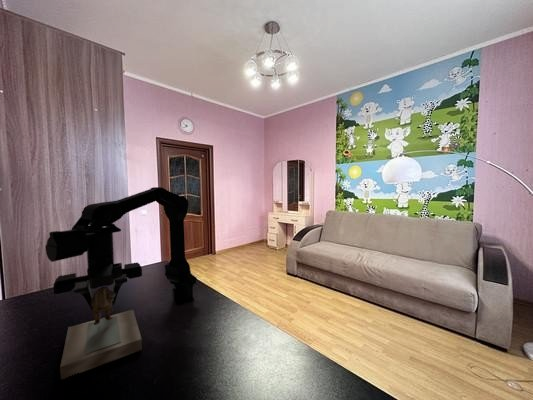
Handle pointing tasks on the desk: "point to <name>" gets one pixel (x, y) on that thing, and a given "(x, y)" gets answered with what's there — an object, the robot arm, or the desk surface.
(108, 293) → the lion figurine
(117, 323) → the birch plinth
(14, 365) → the desk surface
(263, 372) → the desk surface
